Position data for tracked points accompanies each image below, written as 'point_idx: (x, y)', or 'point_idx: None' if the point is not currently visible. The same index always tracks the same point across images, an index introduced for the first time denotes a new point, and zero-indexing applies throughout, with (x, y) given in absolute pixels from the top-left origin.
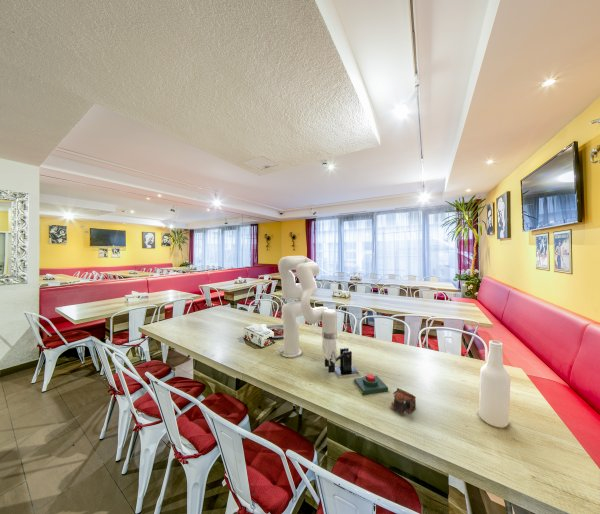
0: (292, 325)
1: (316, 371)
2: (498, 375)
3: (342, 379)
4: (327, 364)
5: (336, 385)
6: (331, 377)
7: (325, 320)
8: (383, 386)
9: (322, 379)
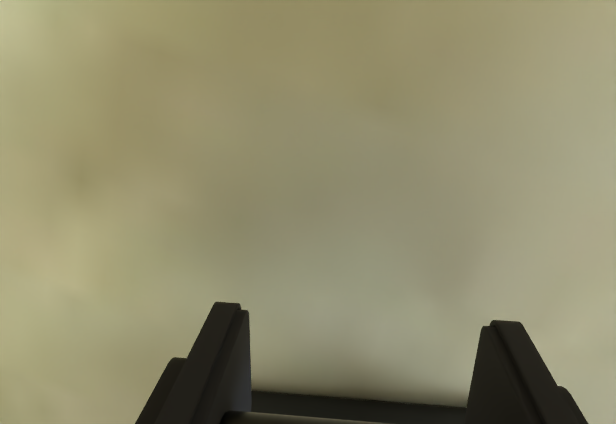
0: None
1: (554, 89)
2: None
3: None
4: (488, 405)
5: (13, 277)
6: (249, 292)
7: None
8: None
9: (214, 115)
